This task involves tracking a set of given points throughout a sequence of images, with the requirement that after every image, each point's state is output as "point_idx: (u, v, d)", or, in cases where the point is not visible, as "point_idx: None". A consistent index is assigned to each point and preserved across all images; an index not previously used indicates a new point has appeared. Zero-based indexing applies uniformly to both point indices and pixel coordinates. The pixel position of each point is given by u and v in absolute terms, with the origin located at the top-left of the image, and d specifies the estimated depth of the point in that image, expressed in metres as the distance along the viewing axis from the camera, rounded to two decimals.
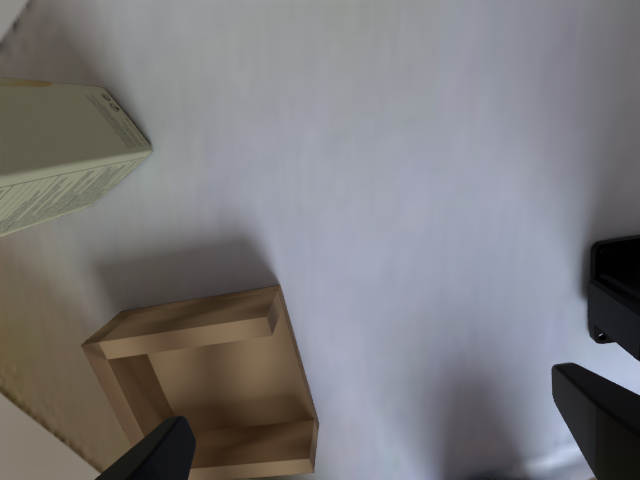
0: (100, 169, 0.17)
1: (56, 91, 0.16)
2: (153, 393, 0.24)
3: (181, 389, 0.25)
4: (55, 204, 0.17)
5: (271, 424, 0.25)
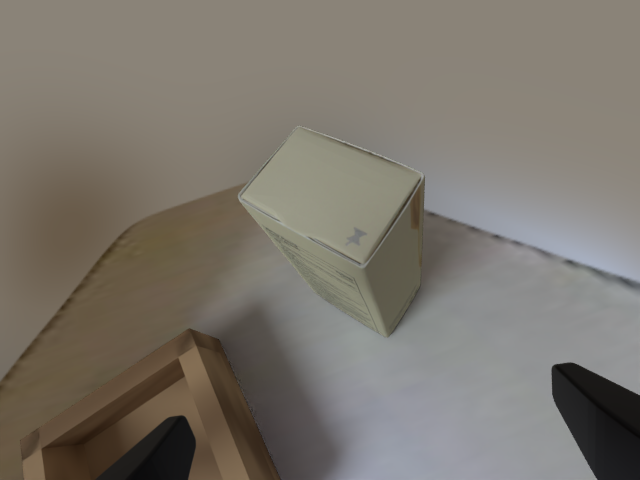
0: (368, 316, 0.19)
1: (417, 272, 0.19)
2: (136, 402, 0.22)
3: (142, 429, 0.22)
4: (325, 288, 0.19)
5: None
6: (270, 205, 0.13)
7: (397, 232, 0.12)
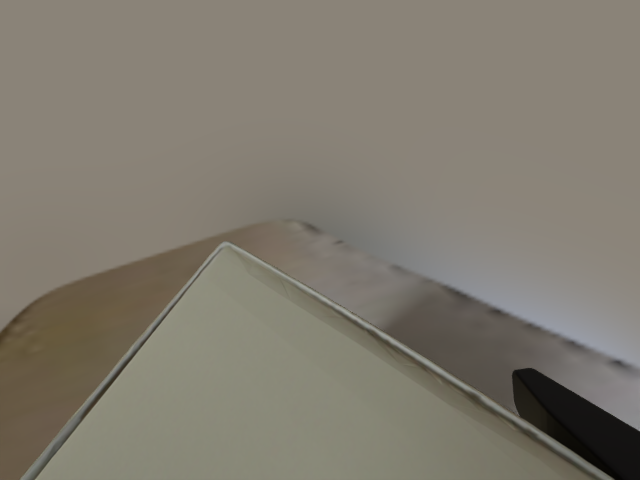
0: None
1: None
2: None
3: None
4: None
5: None
6: None
7: None
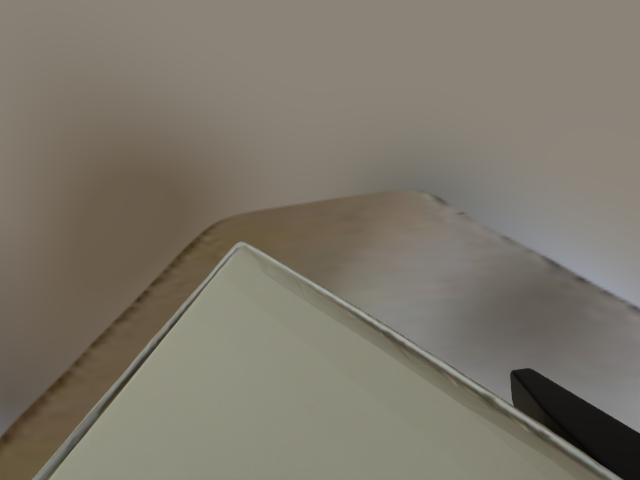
0: None
1: None
2: None
3: None
4: None
5: None
6: None
7: None
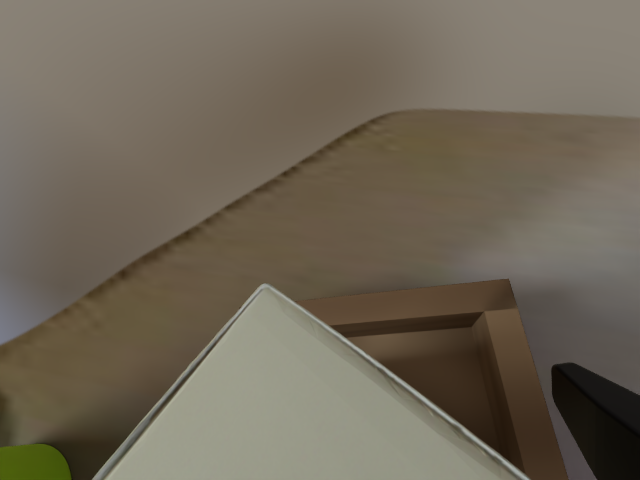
0: None
1: None
2: (373, 331, 0.16)
3: None
4: None
5: None
6: None
7: None
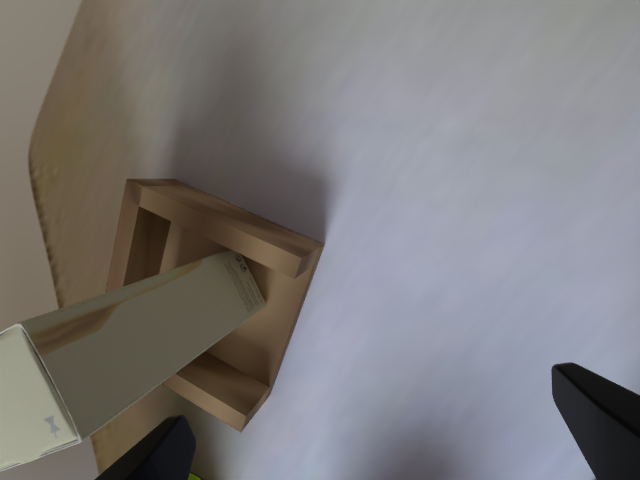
0: None
1: (204, 269, 0.18)
2: (151, 266, 0.23)
3: None
4: None
5: (228, 365, 0.24)
6: (3, 460, 0.12)
7: (76, 372, 0.11)
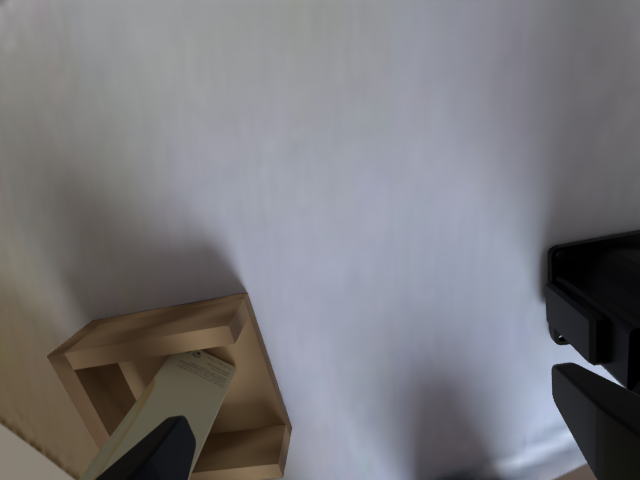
0: None
1: (160, 385, 0.19)
2: (124, 402, 0.24)
3: None
4: None
5: (243, 430, 0.25)
6: None
7: None
